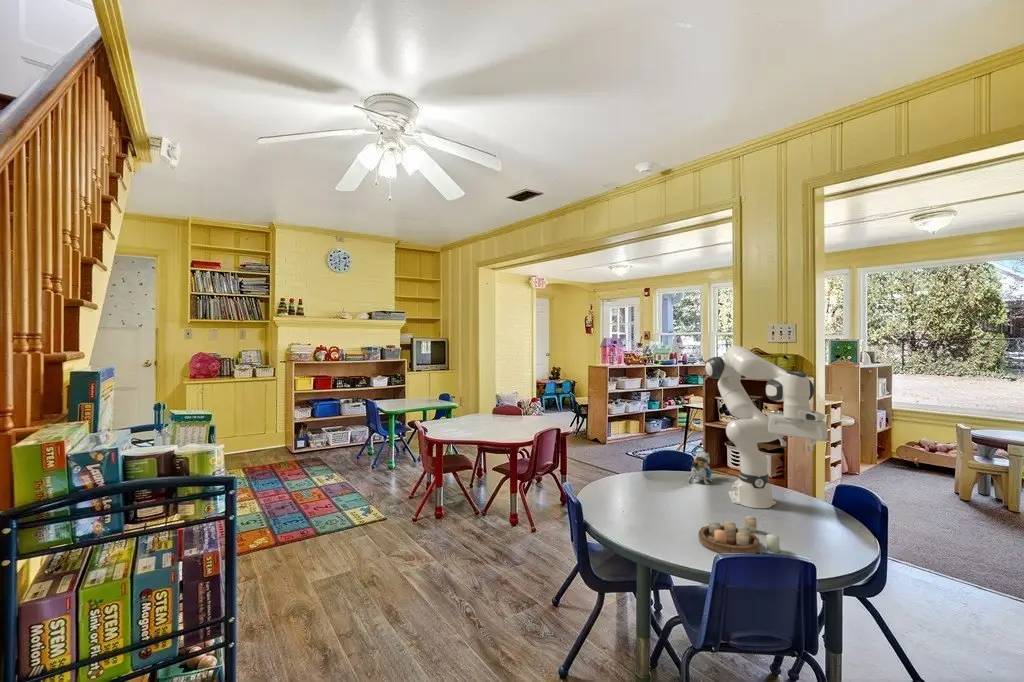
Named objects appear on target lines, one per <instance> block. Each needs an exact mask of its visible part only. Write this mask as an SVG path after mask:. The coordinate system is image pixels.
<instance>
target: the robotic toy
mask: <svg viewBox="0 0 1024 682" xmlns="http://www.w3.org/2000/svg"><path fill="white" fill-rule="evenodd" d="M710 454H711V453H710V452H705V451H704V450H699V451H696V452H695V456H694V457H693V459H692V465H691V466H690V469H691V471H690V477H688V483H691V482H692V480H696V481H698V480H699V481H703V483H704V485H710V482H713V479H712V478H711V477H712V475H713V473H712V469H711V468H710V466H709V464H710V462H711V458H710ZM689 462H691V460H689ZM689 462H686V463H685V464H686V465H687V463H689ZM707 480H708V481H707Z"/></svg>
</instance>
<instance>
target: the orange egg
mask: <svg viewBox="0 0 1024 682" xmlns="http://www.w3.org/2000/svg"><path fill="white" fill-rule="evenodd" d="M714 540H715V542H716V543H721V544H725V545H727V536H726V531H724V530H715V531H714Z"/></svg>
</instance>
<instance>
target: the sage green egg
mask: <svg viewBox="0 0 1024 682" xmlns="http://www.w3.org/2000/svg"><path fill="white" fill-rule="evenodd" d="M780 550H781V549H780V536H779V535H777V534H774V533H773V534H772V533H769V534H768V533H767V534H766V551H768V552H770V553H774V554H779V553H780V552H781V551H780Z"/></svg>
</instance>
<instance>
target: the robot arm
mask: <svg viewBox="0 0 1024 682" xmlns="http://www.w3.org/2000/svg"><path fill="white" fill-rule="evenodd" d="M704 370H705V374H706V375H707V376H708V377H709V378H710V379H715V380H718V381H717V388H718V392H719V393H720V396H721V399H722V400H723V402H724V404H725V406H726V409H727V410H728V412H729V414H730V415H731V416H733V417H735V418H737V419H736V420H732V421H730V422H728V423H727V425H726V427H725V434H726V437H727V438H728V440H729V441H730V442H732V443H733V444H734V445H735V447H736V449H737V451H738V452H739V461H740V462H739V463H740V470H739V472H738V473H739V474H738V479H737V480H736V481H734V482H733V484H732V485H731V486H730V487H731V488H730V489H731V490H729V491H728V493H727V494H728V495H729V497H730V500H731V502H732V504H737V505H742V506H745V507H747V508H752V509H753V508H754V509H770V508H771V507H772V506H775V505H776V504H777V502H776V501H775V500H774V499H773V498H774V497H773V487H772V485H771V484H770V483H769V482H770V481H769V480H770V476H769V474H768V457H767V455H766V454H765V453H763V452H762V451H760V450H759V447H758V444H760V443H761V444H762V443H770V442H774V441H777V440H779V442H780V447H785V448H786V447H787V441H785V440H784V436H786V437H793V438H798V439H807V440H810V443H811V444H810V445H807V446H806V448H807V452H813V451H814V447H815V445H816V444H817V442H818V441H819V442H820V441H821V442H824V441H827V439H828V438H829V431H828V425H827V423H826V421H824V420H825V414H824V413H822V412H818V411H816V410H814V409H812V408H811V405H810V400H811V399H812V398H813V396H814V395H815V391H816V389H815V385H814V384H813V382H812V381H811V380H810V379H809V378H810V377H809V376H808V374H807V373H806V372H803V371H797V370H787V369H785V368H783V367H781V366H780V365H777V364H776V363H773V362H771V361H768V360H767V359H764V358H762V357H761V356H759V355H757V354H755V353H754V352H752V351H751V350H749V349H747V348H745V347H743V346H740V345H731V347H729V348H728V349H727V350H726V351H725V354H724V355H719V356H714V357H710V358H709V359H707V360H706V362H705V364H704ZM745 378H746V379H747V378H749V379H760V380H761V379H764V380H767V382H766V384H765V387H764V390H765V394H766V396H767V398H768V399H769V401H772V402H783V410H772V411H771V410H770V411H769V412H768V414H764V412H762V411H761V410H760V409H759V408H757V406H756V405H755V404H754V402H753V401H752V400H751V398H750V396H749V394H748V393H747V391H746V389H745V388H744V386H743V384H742V382H741V379H745ZM767 415H768V416H767Z"/></svg>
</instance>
